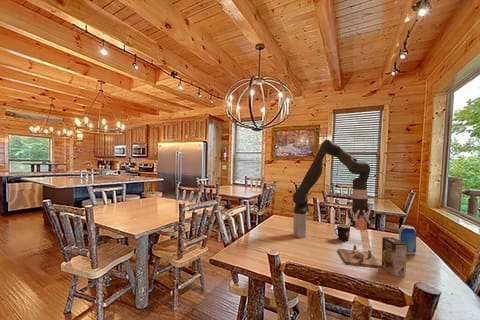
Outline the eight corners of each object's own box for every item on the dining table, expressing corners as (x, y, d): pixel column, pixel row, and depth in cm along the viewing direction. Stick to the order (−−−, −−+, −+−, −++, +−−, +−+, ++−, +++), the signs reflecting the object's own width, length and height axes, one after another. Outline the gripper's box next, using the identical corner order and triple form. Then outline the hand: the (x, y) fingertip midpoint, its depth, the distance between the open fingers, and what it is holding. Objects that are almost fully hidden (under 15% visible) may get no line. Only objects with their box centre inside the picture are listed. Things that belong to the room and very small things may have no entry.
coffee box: (381, 266, 115) (381, 236, 115) (392, 266, 115) (393, 236, 115) (394, 276, 106) (395, 243, 106) (406, 275, 106) (407, 243, 106)
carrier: (345, 263, 117) (346, 254, 117) (337, 250, 135) (337, 242, 135) (382, 268, 113) (382, 258, 113) (369, 253, 131) (369, 245, 131)
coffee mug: (347, 237, 158) (347, 224, 158) (352, 242, 149) (352, 228, 149) (330, 237, 159) (331, 223, 159) (334, 241, 150) (335, 227, 150)
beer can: (412, 250, 137) (412, 225, 137) (418, 255, 129) (419, 229, 129) (396, 248, 140) (397, 224, 140) (401, 253, 132) (402, 227, 132)
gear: (353, 226, 123) (353, 219, 123) (363, 227, 122) (363, 219, 122) (356, 229, 117) (356, 221, 117) (367, 230, 116) (367, 222, 116)
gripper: (371, 196, 122) (371, 226, 122) (344, 195, 125) (344, 224, 125) (376, 198, 115) (377, 230, 114) (348, 197, 118) (348, 228, 117)
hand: (360, 227), depth 120 cm, fingers closed on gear, 5 cm apart
